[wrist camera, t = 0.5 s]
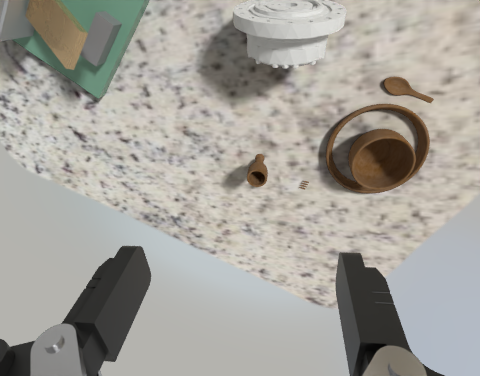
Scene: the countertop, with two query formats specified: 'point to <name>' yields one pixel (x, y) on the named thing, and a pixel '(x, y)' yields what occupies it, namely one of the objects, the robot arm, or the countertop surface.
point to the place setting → (372, 150)
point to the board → (85, 19)
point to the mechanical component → (288, 29)
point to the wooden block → (58, 29)
